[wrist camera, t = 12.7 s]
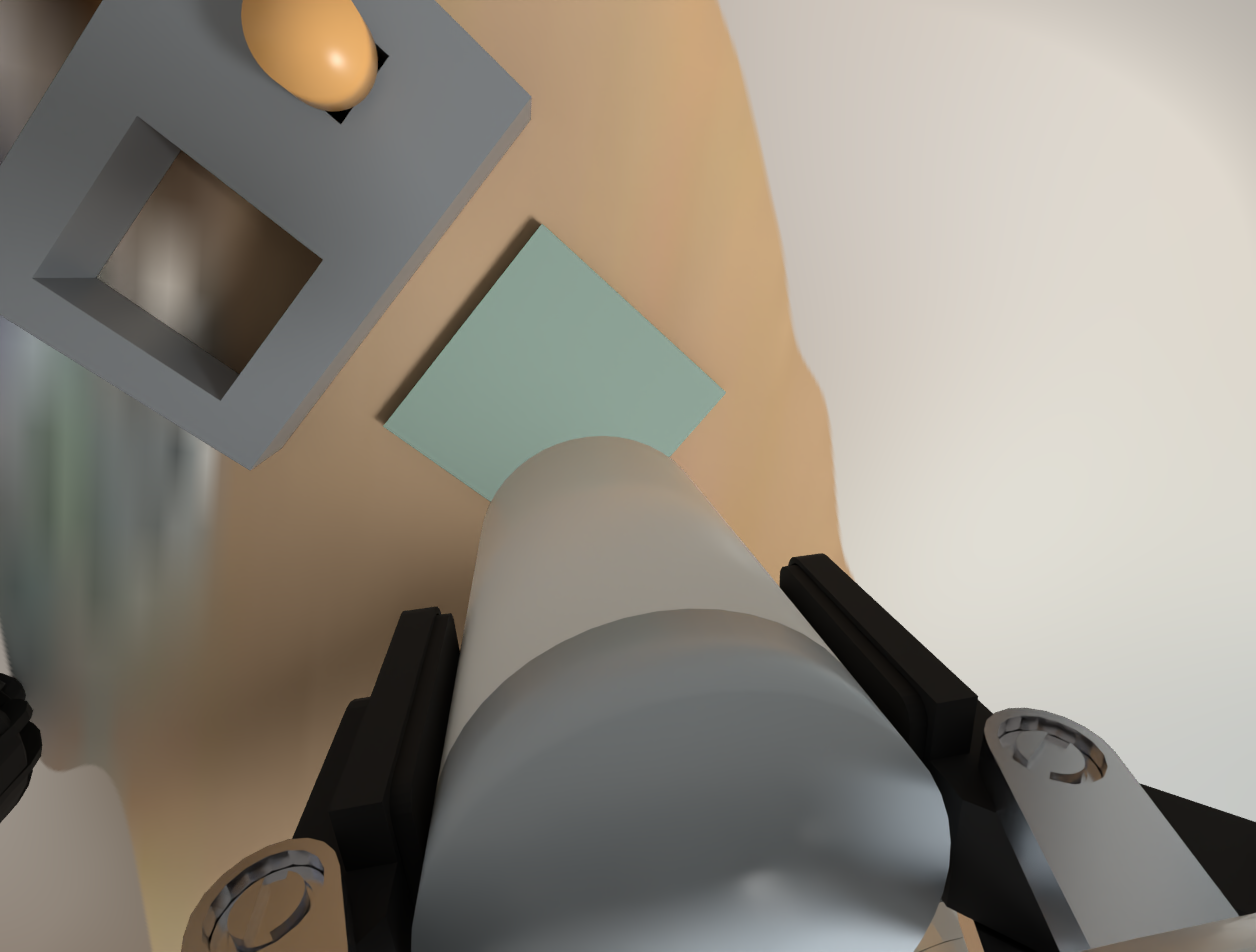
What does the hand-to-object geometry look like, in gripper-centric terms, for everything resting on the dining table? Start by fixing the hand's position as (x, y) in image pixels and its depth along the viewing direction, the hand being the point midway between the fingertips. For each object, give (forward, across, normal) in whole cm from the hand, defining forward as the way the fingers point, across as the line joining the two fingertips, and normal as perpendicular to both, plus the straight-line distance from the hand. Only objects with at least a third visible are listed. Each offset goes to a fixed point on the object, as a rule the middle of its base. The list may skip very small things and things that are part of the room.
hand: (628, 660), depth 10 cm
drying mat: (+21, 0, 0) cm, 21 cm away
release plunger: (+21, +7, -14) cm, 26 cm away
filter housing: (+21, +11, -10) cm, 26 cm away
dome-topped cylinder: (+5, 0, 0) cm, 5 cm away
